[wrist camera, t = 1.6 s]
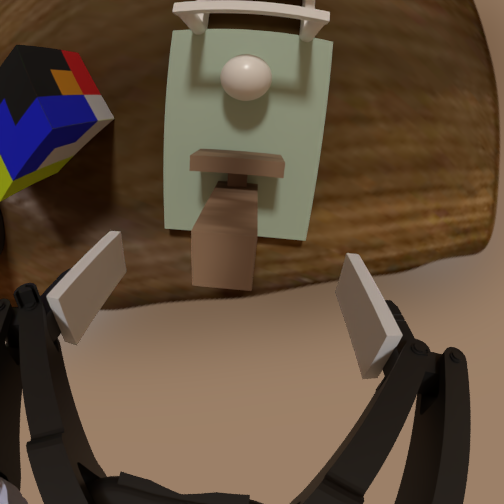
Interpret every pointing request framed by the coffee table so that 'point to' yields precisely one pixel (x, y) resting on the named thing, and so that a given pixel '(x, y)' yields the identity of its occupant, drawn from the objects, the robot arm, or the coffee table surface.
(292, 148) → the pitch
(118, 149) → the coffee table surface
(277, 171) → the kicker
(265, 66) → the ball
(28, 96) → the puzzle toy
